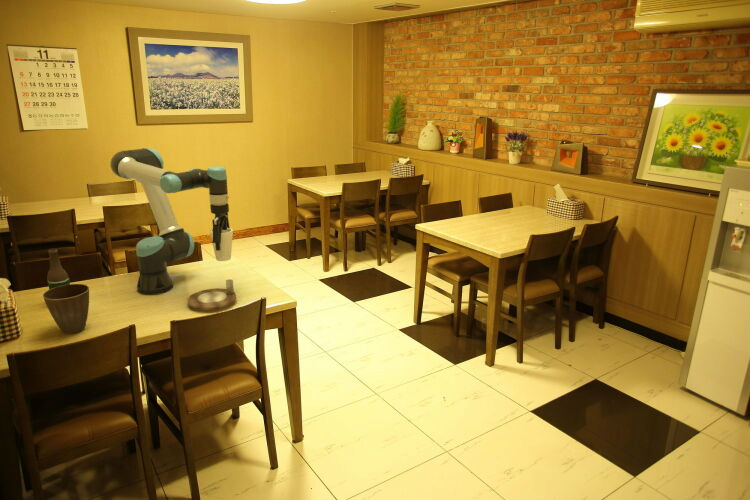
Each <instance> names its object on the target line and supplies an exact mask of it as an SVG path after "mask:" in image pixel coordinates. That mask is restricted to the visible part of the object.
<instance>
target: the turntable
mask: <svg viewBox="0 0 750 500" xmlns="http://www.w3.org/2000/svg"><path fill="white" fill-rule="evenodd" d="M234 288H235V287H234V280H233V279H226V280H225V288H208V289H203V290H198V291H196V292H194V293H192V294H191V295H190V296H189V297H188V298H187V304H188V306H189V307H190V308H191V309H194V310H199V311H215V310H220V309H224V308H227V307H229V306H232V305H233V304H234V303H235V302H236V301H237V294H236V292H235V291H234Z"/></svg>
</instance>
